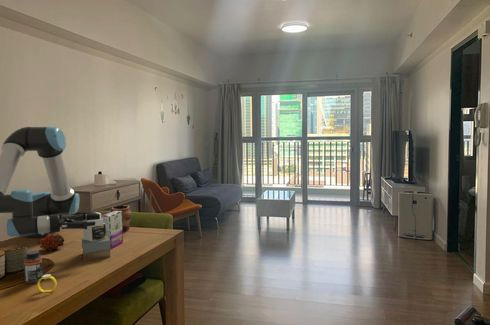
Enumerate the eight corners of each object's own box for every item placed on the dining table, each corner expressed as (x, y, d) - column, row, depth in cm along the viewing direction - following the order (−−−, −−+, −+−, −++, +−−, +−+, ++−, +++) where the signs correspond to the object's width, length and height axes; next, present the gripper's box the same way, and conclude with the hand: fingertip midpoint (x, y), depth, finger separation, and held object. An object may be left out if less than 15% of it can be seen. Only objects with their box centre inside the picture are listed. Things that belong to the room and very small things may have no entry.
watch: (37, 294, 126) (35, 278, 126) (40, 291, 129) (38, 275, 128) (55, 292, 127) (53, 275, 127) (58, 288, 130) (56, 272, 129)
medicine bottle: (92, 242, 161) (91, 215, 160) (83, 239, 165) (81, 213, 164) (106, 237, 167) (105, 212, 166) (96, 235, 171) (95, 210, 170)
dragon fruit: (66, 252, 175) (40, 257, 174) (68, 238, 182) (43, 243, 180) (60, 241, 170) (32, 246, 168) (62, 227, 176) (36, 232, 174)
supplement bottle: (30, 278, 140) (28, 249, 139) (46, 277, 140) (44, 249, 139) (21, 284, 134) (20, 254, 133) (38, 284, 134) (37, 254, 133)
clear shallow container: (83, 254, 169) (82, 245, 169) (108, 250, 174) (107, 242, 173) (83, 261, 159) (83, 252, 159) (110, 257, 164) (110, 249, 164)
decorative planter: (129, 235, 199) (128, 210, 198) (105, 236, 197) (104, 210, 196) (134, 225, 219) (133, 203, 218) (112, 226, 217) (112, 203, 216)
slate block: (81, 246, 168) (81, 237, 168) (107, 242, 173) (106, 234, 173) (83, 253, 159) (83, 244, 158) (110, 249, 164) (110, 240, 163)
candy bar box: (114, 242, 186) (113, 210, 185) (123, 242, 185) (122, 210, 184) (101, 248, 175) (100, 215, 174) (111, 249, 174) (110, 215, 173)
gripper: (51, 226, 169) (100, 221, 178) (48, 240, 146) (104, 233, 155) (50, 210, 168) (99, 206, 177) (47, 221, 146) (103, 216, 155)
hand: (102, 218), depth 166 cm, fingers open, 13 cm apart
